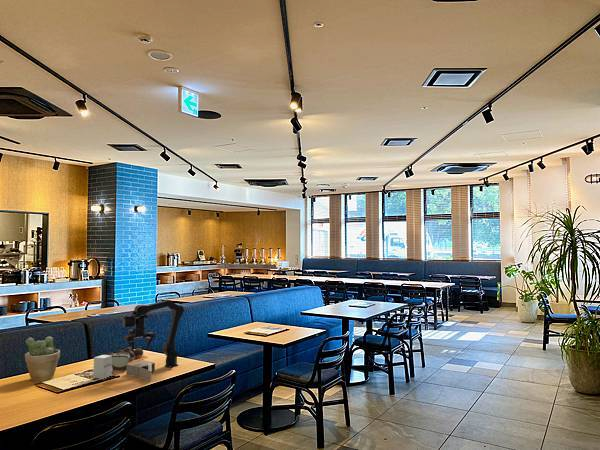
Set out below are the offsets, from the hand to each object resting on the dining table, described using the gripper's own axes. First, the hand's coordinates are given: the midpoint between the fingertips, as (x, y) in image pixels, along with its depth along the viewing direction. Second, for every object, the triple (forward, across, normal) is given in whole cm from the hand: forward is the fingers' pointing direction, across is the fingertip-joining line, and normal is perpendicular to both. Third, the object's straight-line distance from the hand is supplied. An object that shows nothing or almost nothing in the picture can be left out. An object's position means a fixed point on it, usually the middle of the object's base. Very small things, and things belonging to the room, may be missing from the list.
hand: (139, 350), depth 281 cm
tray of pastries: (+14, -4, -30) cm, 34 cm away
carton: (+13, +1, +4) cm, 14 cm away
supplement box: (+13, +21, -4) cm, 25 cm away
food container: (+13, +5, -13) cm, 19 cm away
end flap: (+13, +6, +18) cm, 23 cm away
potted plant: (+13, +47, -28) cm, 56 cm away
